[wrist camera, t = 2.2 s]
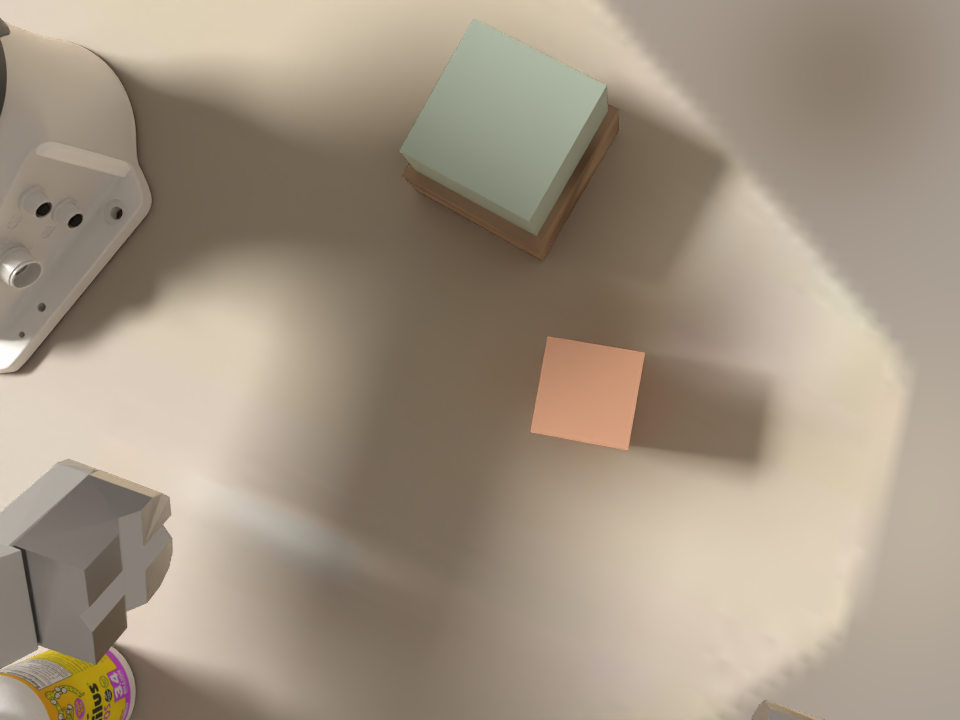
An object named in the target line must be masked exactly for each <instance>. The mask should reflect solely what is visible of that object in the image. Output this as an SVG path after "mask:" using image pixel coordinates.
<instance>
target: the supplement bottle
mask: <svg viewBox="0 0 960 720" xmlns="http://www.w3.org/2000/svg"><path fill="white" fill-rule="evenodd" d="M135 695H136V688H135V681H134V677H133V673H132V671H131V668H130V666H129V664H128V663H127V661H126V660H125V658H124V657H123V656H122V655H121V654H120V653H119V652H118V651H117V650H116V649H115V648H113V647H112V646H111V648H110V649H109V650H108V651H107V653H106V654H105V655H104V656H103V657H102V659H101V660H100V661H99V662H98V664H97V665H94V664H91V663H88V662H85V661H82V660H79V659H77V658H74V657H71V656H68V655H65V654H62V653H59V652H56V651H54V650H48V651H46V652H43V653H41V654H39V655H36V656H33V657H31V658H29V659H26V660H24V661H21V662H19V663H16V664H14V665H12V666H9V667H7V668H4V669H2V670H0V720H129V718H130V716H131V714H132V711H133V708H134V704H135Z"/></svg>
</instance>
